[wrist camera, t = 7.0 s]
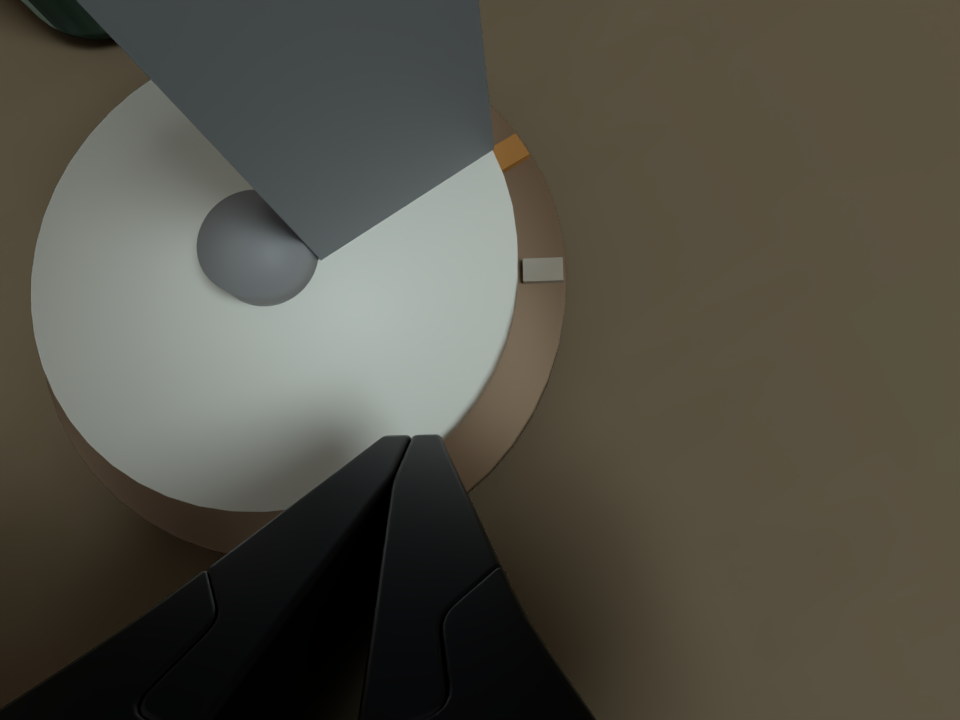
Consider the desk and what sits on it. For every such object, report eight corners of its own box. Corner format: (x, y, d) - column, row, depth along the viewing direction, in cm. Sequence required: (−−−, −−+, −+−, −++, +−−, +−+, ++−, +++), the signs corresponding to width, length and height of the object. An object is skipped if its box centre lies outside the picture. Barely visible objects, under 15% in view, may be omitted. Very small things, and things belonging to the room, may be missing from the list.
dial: (464, 557, 15) (259, 791, 4) (14, 454, 16) (-1174, 391, 5) (557, 105, 17) (613, -662, 6) (148, 46, 18) (-480, -674, 7)
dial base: (299, 671, 16) (273, 693, 15) (-15, 307, 19) (-67, 290, 17) (670, 285, 18) (685, 264, 16) (326, -10, 20) (308, -54, 18)
